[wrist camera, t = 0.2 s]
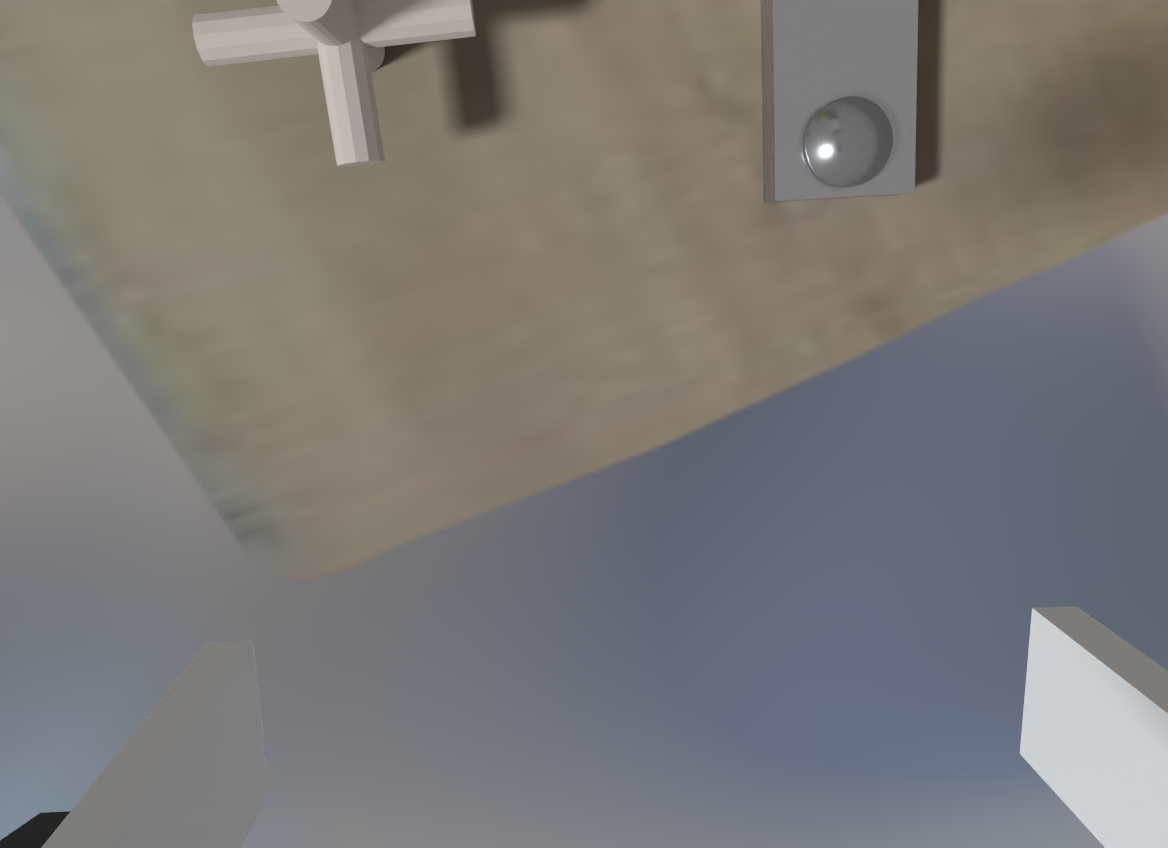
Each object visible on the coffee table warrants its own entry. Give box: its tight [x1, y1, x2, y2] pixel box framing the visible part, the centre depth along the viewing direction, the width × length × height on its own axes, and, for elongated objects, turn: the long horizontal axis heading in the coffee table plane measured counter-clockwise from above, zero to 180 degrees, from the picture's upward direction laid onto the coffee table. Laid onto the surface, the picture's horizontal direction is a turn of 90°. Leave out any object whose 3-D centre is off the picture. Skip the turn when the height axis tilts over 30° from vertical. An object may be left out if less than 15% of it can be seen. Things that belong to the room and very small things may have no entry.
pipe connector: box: [192, 0, 476, 167], centre depth 34 cm, size 10×10×10 cm
